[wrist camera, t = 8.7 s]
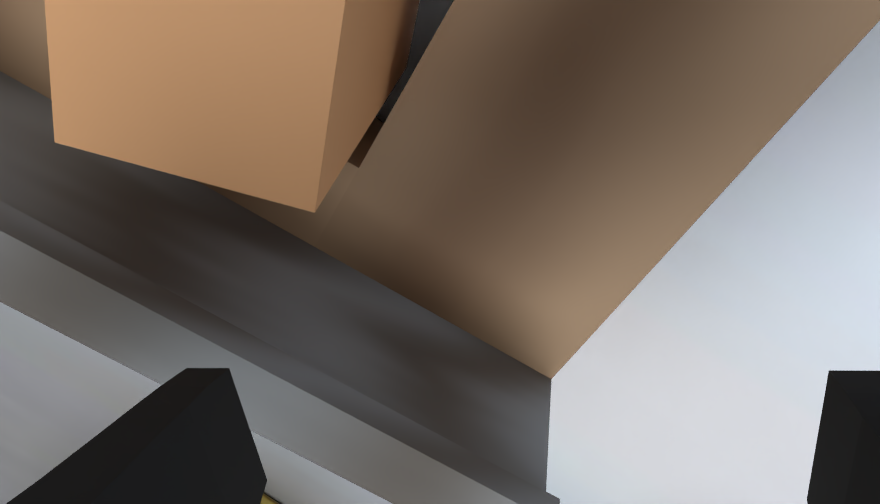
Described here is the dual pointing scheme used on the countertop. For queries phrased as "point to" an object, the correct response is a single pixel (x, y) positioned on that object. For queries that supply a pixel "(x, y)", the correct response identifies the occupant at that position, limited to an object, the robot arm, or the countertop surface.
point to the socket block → (418, 228)
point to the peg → (227, 86)
